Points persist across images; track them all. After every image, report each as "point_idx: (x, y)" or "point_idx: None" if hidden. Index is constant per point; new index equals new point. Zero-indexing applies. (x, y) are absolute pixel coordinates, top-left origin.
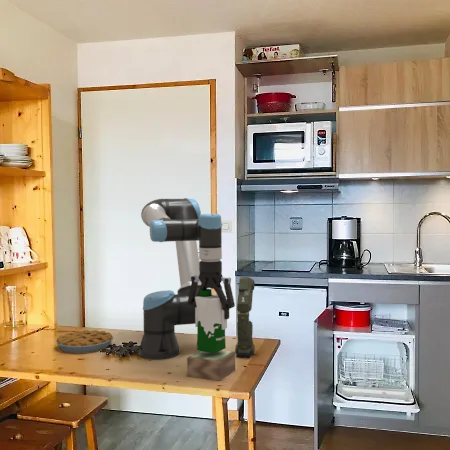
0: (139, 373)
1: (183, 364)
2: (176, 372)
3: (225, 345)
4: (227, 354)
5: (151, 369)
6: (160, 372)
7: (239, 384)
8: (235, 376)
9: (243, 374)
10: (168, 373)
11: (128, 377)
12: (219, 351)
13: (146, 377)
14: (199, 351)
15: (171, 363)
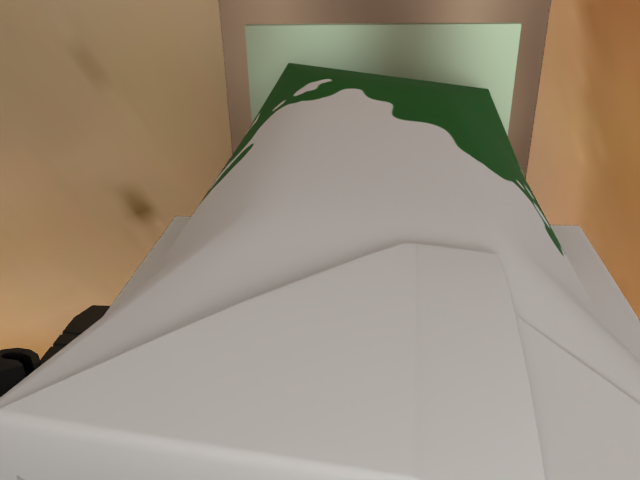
0: (6, 272)
1: (106, 23)
2: (170, 186)
3: (495, 108)
4: (510, 109)
5: (7, 194)
6: (89, 219)
7: (623, 233)
8: (561, 113)
9: (608, 52)
10: (140, 218)
11: (9, 335)
12: (412, 61)
13: (84, 308)
14: (234, 97)
15: (21, 38)
